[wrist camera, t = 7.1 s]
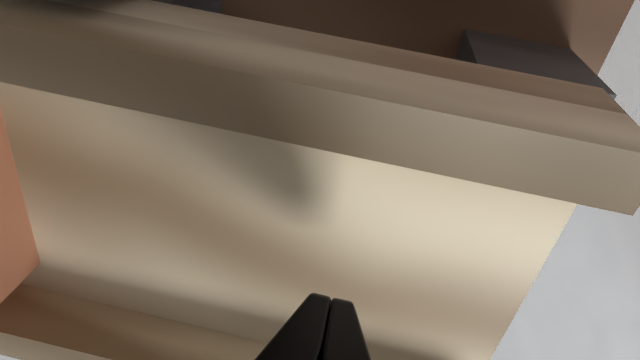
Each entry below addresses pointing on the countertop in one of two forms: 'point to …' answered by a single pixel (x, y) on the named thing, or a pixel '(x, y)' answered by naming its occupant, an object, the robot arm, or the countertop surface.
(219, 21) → the beam
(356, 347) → the robot arm
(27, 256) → the rider
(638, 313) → the countertop surface
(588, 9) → the stand
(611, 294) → the countertop surface
